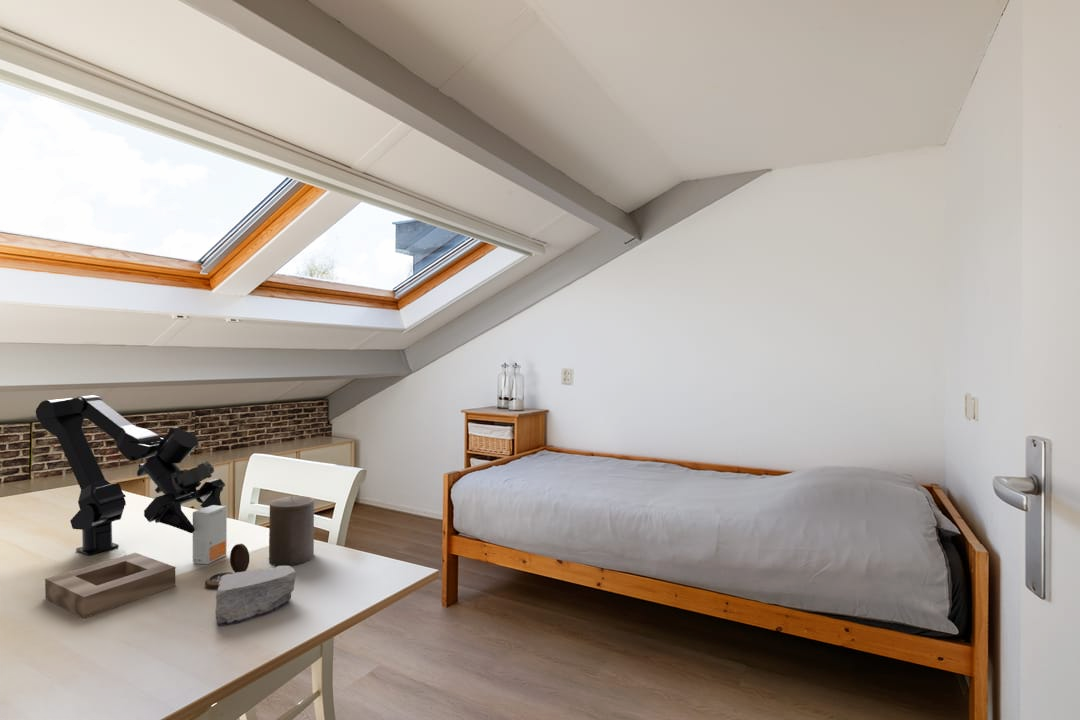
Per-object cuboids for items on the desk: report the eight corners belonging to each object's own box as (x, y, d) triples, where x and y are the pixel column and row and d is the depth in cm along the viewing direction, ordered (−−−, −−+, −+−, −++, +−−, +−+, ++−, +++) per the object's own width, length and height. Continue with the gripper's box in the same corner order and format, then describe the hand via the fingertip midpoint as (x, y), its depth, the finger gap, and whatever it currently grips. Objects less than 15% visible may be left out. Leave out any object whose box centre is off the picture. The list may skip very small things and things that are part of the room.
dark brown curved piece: (198, 585, 118) (198, 551, 118) (235, 572, 125) (235, 540, 124) (219, 594, 114) (219, 559, 114) (256, 581, 120) (256, 547, 120)
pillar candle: (276, 570, 126) (276, 503, 126) (263, 557, 133) (264, 494, 133) (320, 559, 132) (320, 496, 132) (305, 548, 140) (306, 488, 139)
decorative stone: (199, 619, 104) (225, 633, 98) (198, 582, 104) (224, 594, 98) (276, 591, 116) (303, 603, 110) (275, 558, 116) (302, 568, 110)
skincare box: (208, 565, 129) (207, 513, 128) (192, 563, 129) (191, 512, 129) (227, 555, 134) (227, 505, 134) (212, 553, 135) (211, 504, 135)
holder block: (45, 598, 111) (45, 578, 111) (135, 570, 125) (135, 552, 125) (84, 618, 104) (83, 596, 103) (175, 585, 118) (175, 566, 117)
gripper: (153, 461, 123) (198, 514, 121) (218, 446, 141) (257, 492, 140) (124, 495, 125) (167, 548, 123) (191, 475, 143) (230, 521, 141)
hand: (209, 525), depth 132 cm, fingers open, 9 cm apart
